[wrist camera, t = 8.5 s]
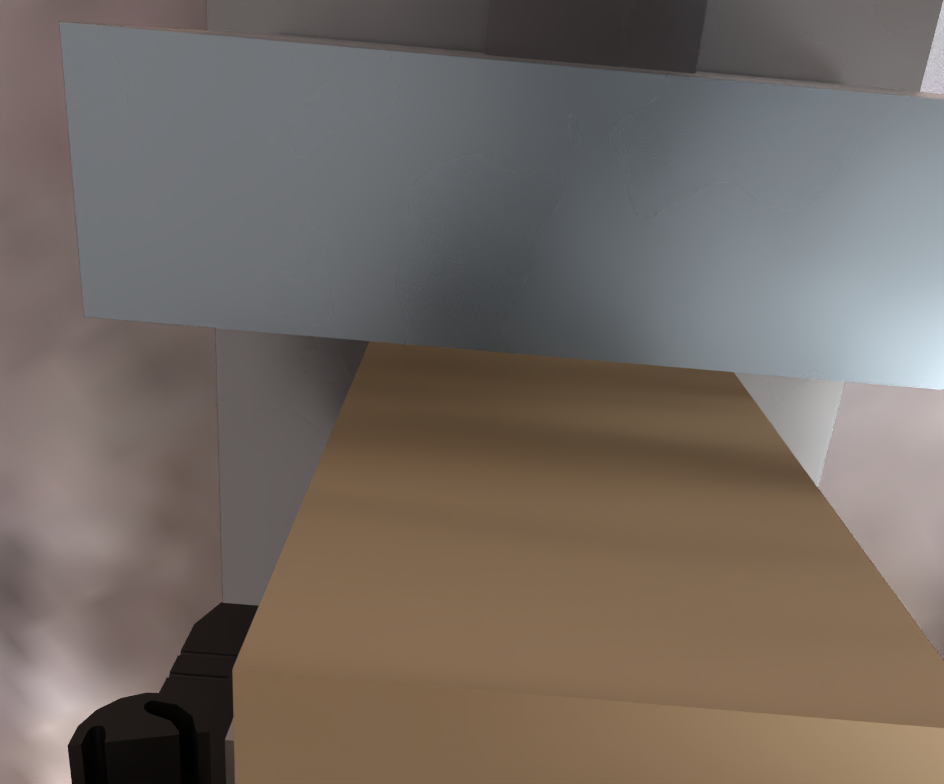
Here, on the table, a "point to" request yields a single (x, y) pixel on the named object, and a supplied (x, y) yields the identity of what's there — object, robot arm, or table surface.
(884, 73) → the vise
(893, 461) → the table surface
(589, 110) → the vise jaw
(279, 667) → the block
